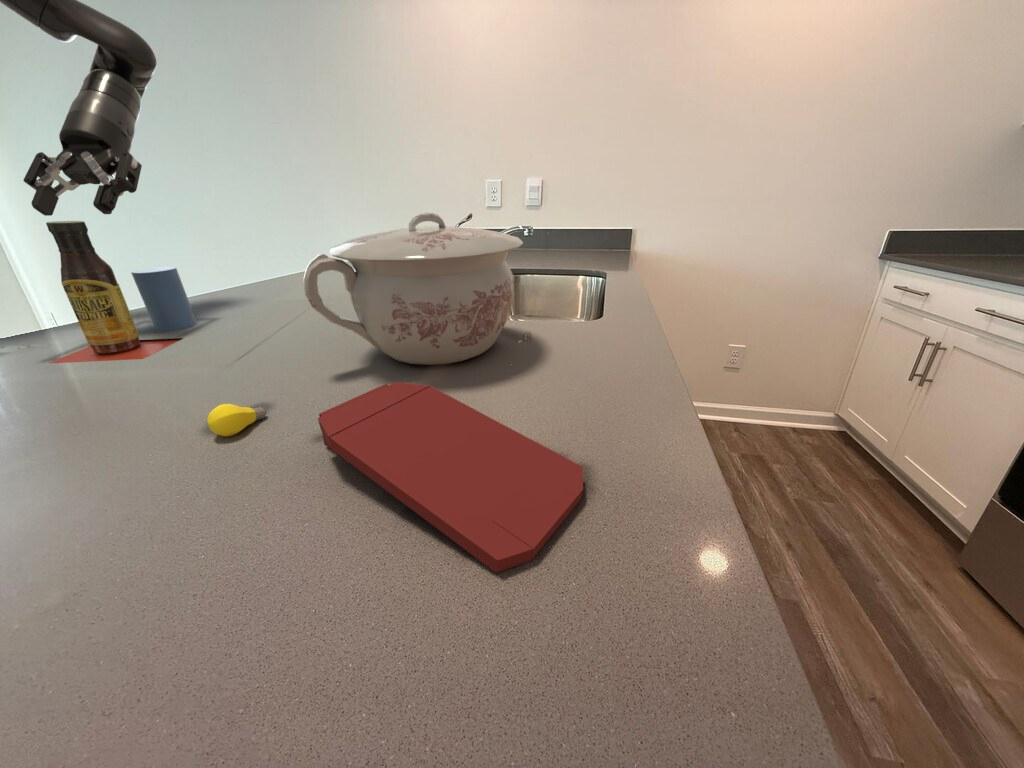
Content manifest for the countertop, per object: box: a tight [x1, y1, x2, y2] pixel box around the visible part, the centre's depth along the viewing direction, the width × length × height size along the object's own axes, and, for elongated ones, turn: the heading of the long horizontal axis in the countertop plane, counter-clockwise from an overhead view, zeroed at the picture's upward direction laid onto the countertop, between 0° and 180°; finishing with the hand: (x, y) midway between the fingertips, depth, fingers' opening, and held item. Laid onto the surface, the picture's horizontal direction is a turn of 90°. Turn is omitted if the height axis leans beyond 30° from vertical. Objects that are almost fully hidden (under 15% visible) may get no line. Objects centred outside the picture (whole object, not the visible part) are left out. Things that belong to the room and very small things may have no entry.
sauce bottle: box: [45, 220, 141, 354], centre depth 63 cm, size 7×6×20 cm
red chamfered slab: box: [317, 381, 584, 574], centre depth 38 cm, size 12×5×25 cm
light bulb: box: [206, 403, 267, 437], centre depth 45 cm, size 3×6×4 cm, turn 156°
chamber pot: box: [302, 212, 524, 366], centre depth 62 cm, size 28×28×21 cm
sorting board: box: [49, 337, 184, 364], centre depth 72 cm, size 14×20×1 cm
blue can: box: [130, 266, 198, 333], centre depth 75 cm, size 6×6×11 cm
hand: (71, 211), depth 61 cm, fingers open, 8 cm apart
